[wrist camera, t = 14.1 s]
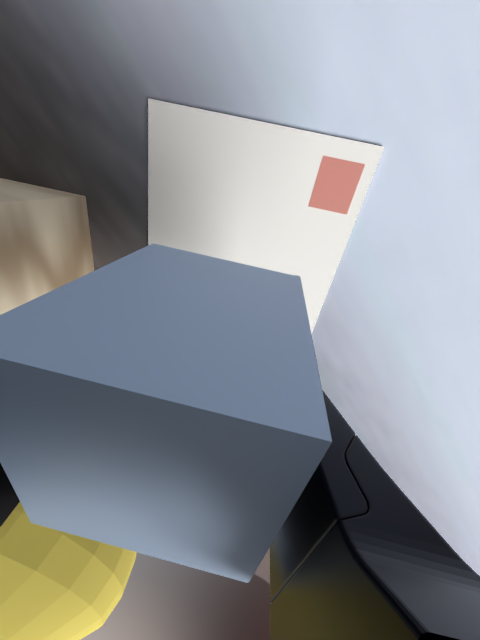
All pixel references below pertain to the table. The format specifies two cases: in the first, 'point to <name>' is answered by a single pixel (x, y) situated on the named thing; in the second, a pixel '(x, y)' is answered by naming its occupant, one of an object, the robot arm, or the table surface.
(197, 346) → the cube
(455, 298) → the table surface
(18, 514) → the vase
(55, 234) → the block
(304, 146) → the letter
